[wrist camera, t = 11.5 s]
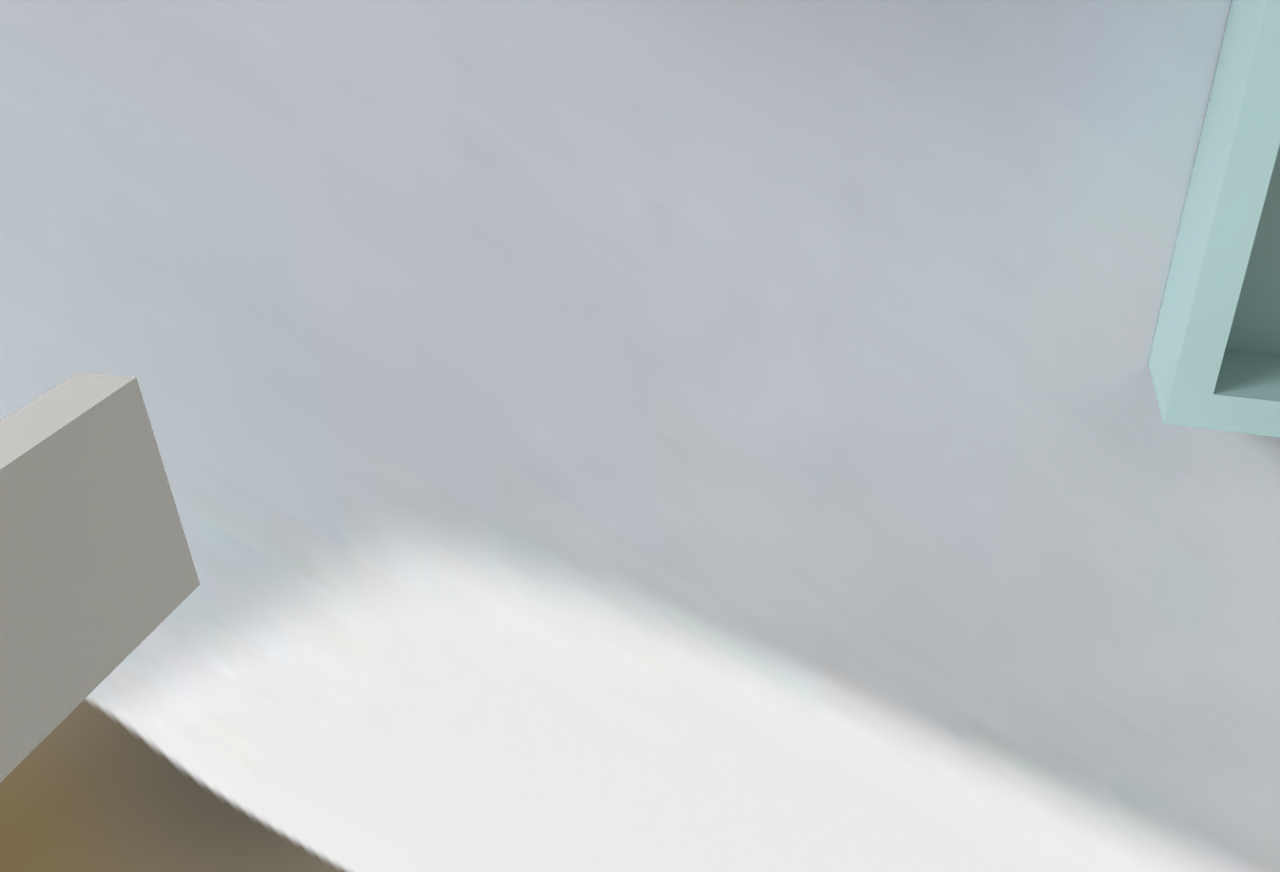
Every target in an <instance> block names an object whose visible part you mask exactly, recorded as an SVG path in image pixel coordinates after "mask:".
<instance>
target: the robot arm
mask: <svg viewBox="0 0 1280 872" xmlns="http://www.w3.org/2000/svg"><path fill="white" fill-rule="evenodd" d="M199 585H200V583H199V580H198V577H197V573H196V570H195V567H194V564H193V560H192V557H191V554H190V551H189V547H188V544H187V541H186V538H185V534H184V531H183V528H182V525H181V521H180V518H179V515H178V512H177V508H176V505H175V502H174V499H173V495H172V492H171V489H170V486H169V482H168V479H167V476H166V473H165V469H164V466H163V463H162V460H161V456H160V453H159V450H158V447H157V443H156V440H155V437H154V434H153V430H152V427H151V424H150V421H149V417H148V414H147V411H146V408H145V404H144V401H143V398H142V395H141V391H140V388H139V385H138V382H137V378H136V377H127V376H114V375H102V374H89V373H76V374H74V375H73V376H71V377H69V378H68V379H66V380H65V381H63V382H61V383H60V384H58V385H57V386H55V387H54V388H52V389H50V390H49V391H47V392H46V393H44V394H42V395H41V396H39V397H38V398H36V399H35V400H33V401H31V402H30V403H28V404H27V405H25V406H23V407H22V408H20V409H19V410H17V411H16V412H14V413H12V414H11V415H9V416H8V417H6V418H4V419H3V420H1V421H0V782H1V781H2V780H3V779H4V778H5V777H6V776H7V775H8V774H9V773H10V772H11V771H12V770H13V769H14V768H15V767H16V766H17V765H18V764H19V763H20V762H21V761H22V760H23V759H24V758H25V757H26V756H27V755H28V754H29V753H30V752H31V751H32V750H33V749H34V748H35V747H36V746H37V745H38V744H39V743H40V742H41V741H42V740H43V739H44V738H45V737H47V736H48V735H49V733H51V732H52V731H53V730H54V729H55V728H56V727H57V726H58V725H59V724H60V723H61V721H63V720H64V719H65V718H66V717H67V716H68V715H69V714H70V713H71V712H72V711H73V710H74V709H75V708H76V707H77V706H78V705H79V704H80V703H81V702H82V701H83V700H84V699H85V698H86V697H87V696H88V695H89V694H90V693H91V692H92V691H93V690H94V689H95V688H96V687H97V686H98V685H99V684H100V683H101V682H102V681H103V680H104V679H105V678H106V677H107V676H108V675H109V674H110V673H111V672H112V671H113V670H114V669H115V668H116V667H117V666H118V665H119V664H120V663H121V662H122V661H123V660H124V659H125V658H126V657H127V656H128V655H129V654H130V653H131V652H132V651H133V650H134V649H135V648H136V647H137V646H138V645H139V644H140V643H141V642H142V641H143V640H144V639H145V638H146V637H147V636H148V635H149V634H150V633H151V632H152V631H153V630H154V629H155V628H156V627H157V626H158V625H159V624H160V623H161V622H162V621H163V620H164V619H165V618H166V617H167V616H168V615H169V614H170V613H171V612H172V611H173V610H174V609H175V608H176V607H177V606H179V605H180V604H181V603H182V602H183V601H184V600H185V599H186V598H187V597H188V596H189V595H190V594H191V593H192V592H193V591H194V590H195V589H196V588H197V587H198V586H199Z"/></svg>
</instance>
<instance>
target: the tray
mask: <svg viewBox="0 0 1280 872" xmlns="http://www.w3.org/2000/svg"><path fill="white" fill-rule="evenodd" d="M1148 365H1149V369H1150V373H1151V377H1152V381H1153V385H1154V389H1155V393H1156V397H1157V401H1158V405H1159V409H1160V413H1161V417H1162V421H1163V424H1170V425H1179V426H1187V427H1196V428H1204V429H1212V430H1221V431H1229V432H1238V433H1246V434H1255V435H1263V436H1271V437H1280V0H1232V3H1231V7H1230V12H1229V16H1228V20H1227V24H1226V29H1225V33H1224V37H1223V42H1222V46H1221V50H1220V55H1219V59H1218V63H1217V68H1216V72H1215V76H1214V81H1213V85H1212V89H1211V94H1210V98H1209V102H1208V107H1207V111H1206V115H1205V120H1204V124H1203V128H1202V132H1201V137H1200V141H1199V145H1198V150H1197V154H1196V158H1195V163H1194V167H1193V171H1192V176H1191V180H1190V184H1189V189H1188V193H1187V197H1186V202H1185V206H1184V210H1183V215H1182V219H1181V223H1180V227H1179V232H1178V236H1177V240H1176V245H1175V249H1174V253H1173V258H1172V262H1171V266H1170V271H1169V275H1168V279H1167V284H1166V288H1165V292H1164V297H1163V301H1162V305H1161V310H1160V314H1159V318H1158V323H1157V327H1156V331H1155V335H1154V340H1153V344H1152V348H1151V353H1150V357H1149V361H1148Z"/></svg>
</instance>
